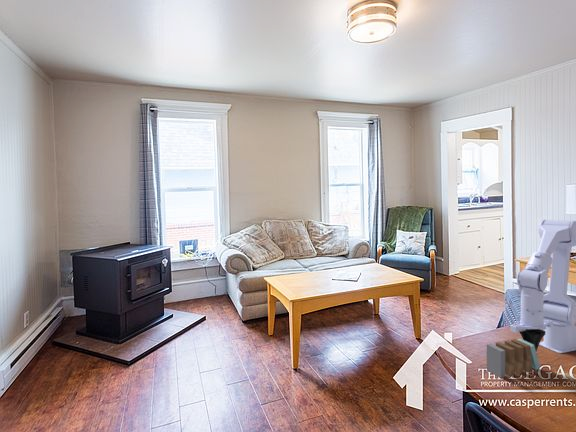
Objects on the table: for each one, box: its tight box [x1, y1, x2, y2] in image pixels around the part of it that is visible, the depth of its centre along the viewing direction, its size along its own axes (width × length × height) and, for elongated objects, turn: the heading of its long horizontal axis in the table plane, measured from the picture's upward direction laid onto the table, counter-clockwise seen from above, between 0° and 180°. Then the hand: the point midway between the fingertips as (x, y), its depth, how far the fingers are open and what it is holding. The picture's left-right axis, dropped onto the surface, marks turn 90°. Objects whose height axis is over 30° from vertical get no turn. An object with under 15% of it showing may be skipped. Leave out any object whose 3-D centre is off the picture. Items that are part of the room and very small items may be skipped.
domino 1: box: [495, 341, 515, 377], centre depth 104 cm, size 2×5×8 cm, turn 15°
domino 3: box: [510, 338, 533, 373], centre depth 105 cm, size 2×5×8 cm, turn 15°
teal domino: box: [517, 338, 541, 371], centre depth 106 cm, size 2×5×8 cm, turn 14°
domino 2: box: [504, 340, 524, 375], centre depth 105 cm, size 2×5×8 cm, turn 15°
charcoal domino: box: [486, 343, 506, 379], centre depth 103 cm, size 2×5×8 cm, turn 16°
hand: (531, 351), depth 106 cm, fingers closed
